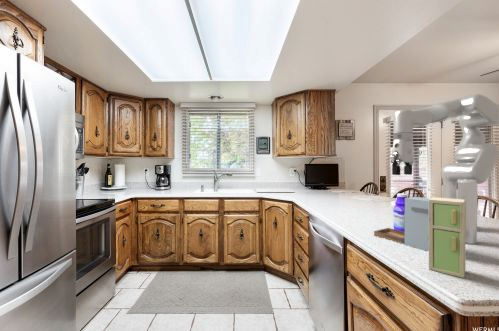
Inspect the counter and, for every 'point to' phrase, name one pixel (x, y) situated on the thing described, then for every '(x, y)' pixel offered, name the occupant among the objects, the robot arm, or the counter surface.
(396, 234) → the tray
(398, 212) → the bottle
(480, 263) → the counter surface
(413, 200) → the unit
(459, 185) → the grey post
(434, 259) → the toy refrigerator
